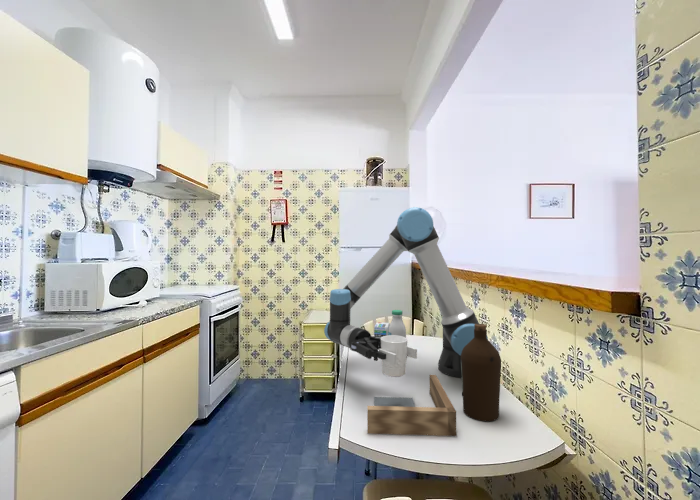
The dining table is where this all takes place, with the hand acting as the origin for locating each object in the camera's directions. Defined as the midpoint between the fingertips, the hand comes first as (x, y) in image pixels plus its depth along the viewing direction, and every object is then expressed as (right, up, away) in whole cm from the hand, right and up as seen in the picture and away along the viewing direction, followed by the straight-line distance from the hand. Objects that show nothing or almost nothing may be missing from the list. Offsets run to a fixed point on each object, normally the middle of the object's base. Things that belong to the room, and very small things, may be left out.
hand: (406, 356), depth 90 cm
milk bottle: (+5, -17, +50) cm, 53 cm away
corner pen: (0, -16, +2) cm, 16 cm away
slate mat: (-3, -16, +4) cm, 17 cm away
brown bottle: (+21, -16, 0) cm, 27 cm away
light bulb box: (0, -17, +65) cm, 67 cm away
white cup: (-3, -6, +4) cm, 8 cm away
